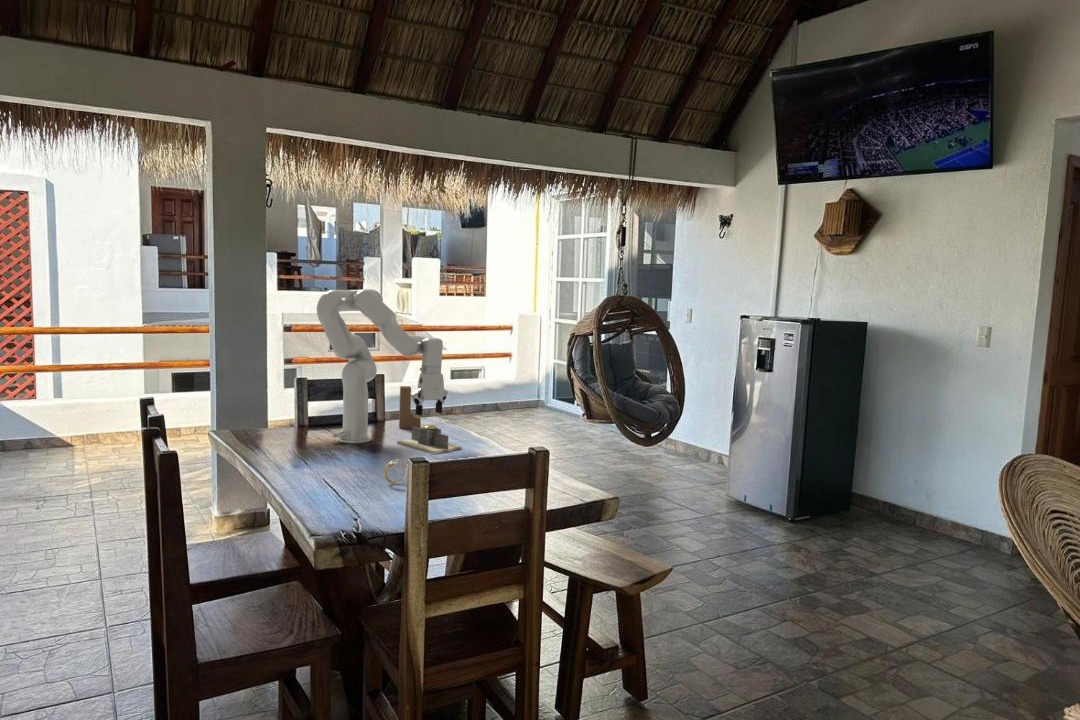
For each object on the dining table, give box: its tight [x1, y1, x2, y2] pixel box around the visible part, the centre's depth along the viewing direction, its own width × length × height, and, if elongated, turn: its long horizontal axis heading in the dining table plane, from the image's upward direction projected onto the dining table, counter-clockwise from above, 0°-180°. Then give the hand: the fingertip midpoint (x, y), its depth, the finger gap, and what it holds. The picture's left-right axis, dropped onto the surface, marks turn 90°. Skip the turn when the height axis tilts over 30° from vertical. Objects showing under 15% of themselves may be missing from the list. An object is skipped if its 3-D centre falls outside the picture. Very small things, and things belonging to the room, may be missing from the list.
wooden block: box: [398, 385, 422, 430], centre depth 314 cm, size 9×4×18 cm, turn 103°
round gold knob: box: [422, 424, 438, 430], centre depth 281 cm, size 5×5×6 cm
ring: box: [383, 458, 408, 485], centre depth 227 cm, size 7×3×8 cm, turn 105°
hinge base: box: [396, 427, 463, 455], centre depth 281 cm, size 14×22×7 cm, turn 48°
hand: (428, 413), depth 280 cm, fingers open, 9 cm apart
